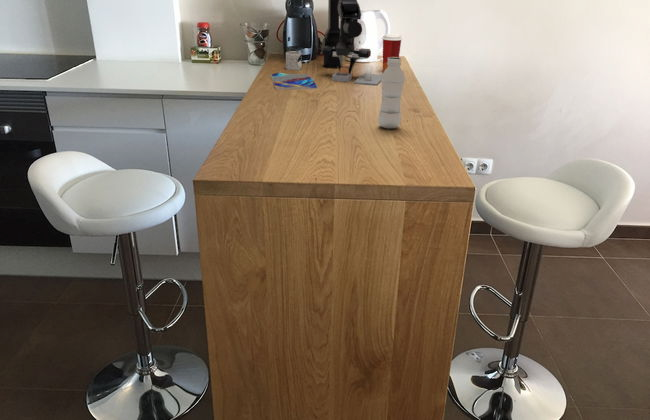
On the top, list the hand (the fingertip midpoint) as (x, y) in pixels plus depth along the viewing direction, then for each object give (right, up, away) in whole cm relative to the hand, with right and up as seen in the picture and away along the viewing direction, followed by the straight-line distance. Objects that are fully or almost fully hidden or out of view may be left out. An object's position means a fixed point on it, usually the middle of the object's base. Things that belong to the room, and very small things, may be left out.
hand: (345, 73), depth 231 cm
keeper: (+10, -3, -3) cm, 11 cm away
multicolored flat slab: (-21, -6, -10) cm, 24 cm away
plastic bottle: (+10, -31, -63) cm, 71 cm away
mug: (-22, +6, +15) cm, 27 cm away
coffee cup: (+19, +4, +12) cm, 23 cm away
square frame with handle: (0, -2, -1) cm, 2 cm away
